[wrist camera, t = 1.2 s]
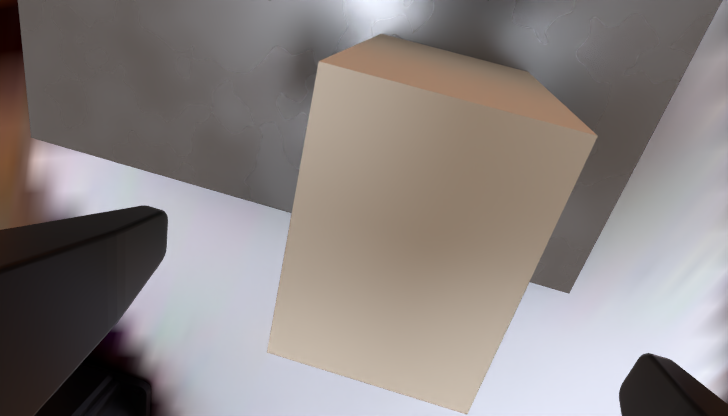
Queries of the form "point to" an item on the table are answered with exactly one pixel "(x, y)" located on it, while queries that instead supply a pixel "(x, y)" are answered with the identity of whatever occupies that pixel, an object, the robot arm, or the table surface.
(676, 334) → the table surface
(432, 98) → the tea box
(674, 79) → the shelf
